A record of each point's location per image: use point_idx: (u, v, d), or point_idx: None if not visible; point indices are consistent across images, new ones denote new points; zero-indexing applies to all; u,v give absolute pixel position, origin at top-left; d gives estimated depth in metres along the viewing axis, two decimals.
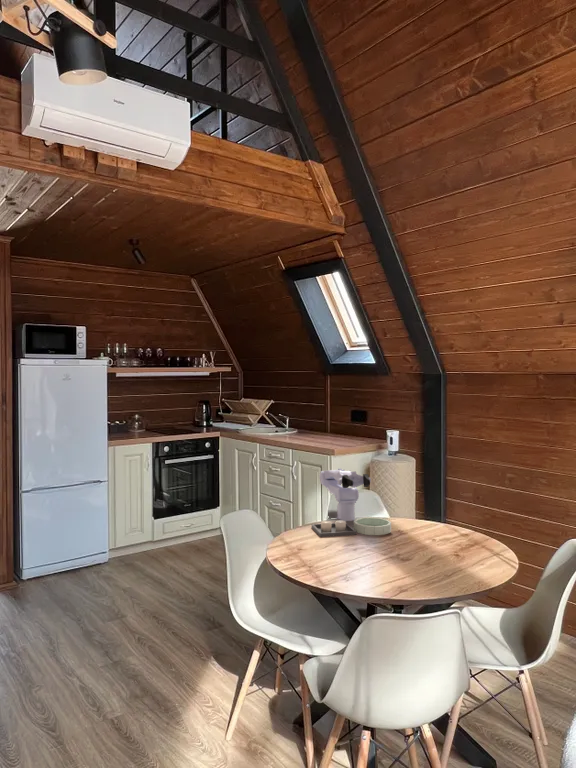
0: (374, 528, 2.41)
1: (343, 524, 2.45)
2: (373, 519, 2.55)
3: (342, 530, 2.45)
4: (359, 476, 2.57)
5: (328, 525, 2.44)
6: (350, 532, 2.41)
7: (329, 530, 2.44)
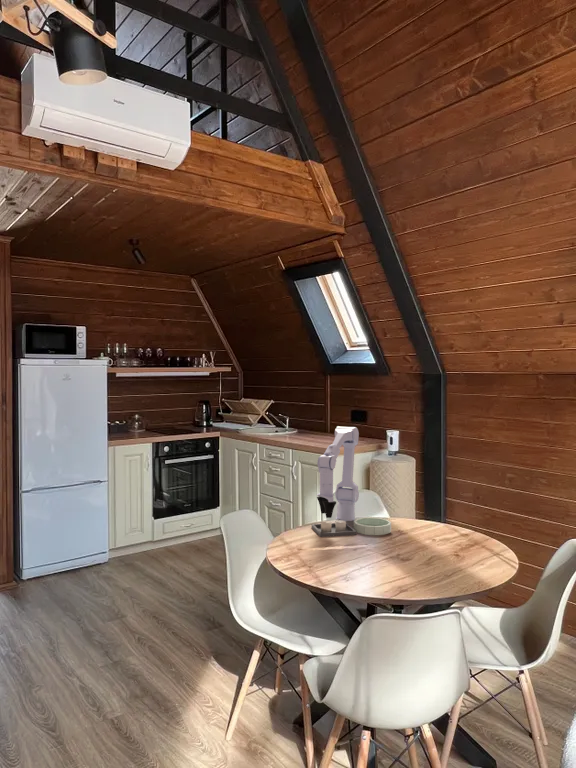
0: (374, 528, 2.41)
1: (343, 524, 2.45)
2: (373, 519, 2.55)
3: (342, 530, 2.45)
4: None
5: (328, 525, 2.44)
6: (350, 532, 2.41)
7: (329, 530, 2.44)
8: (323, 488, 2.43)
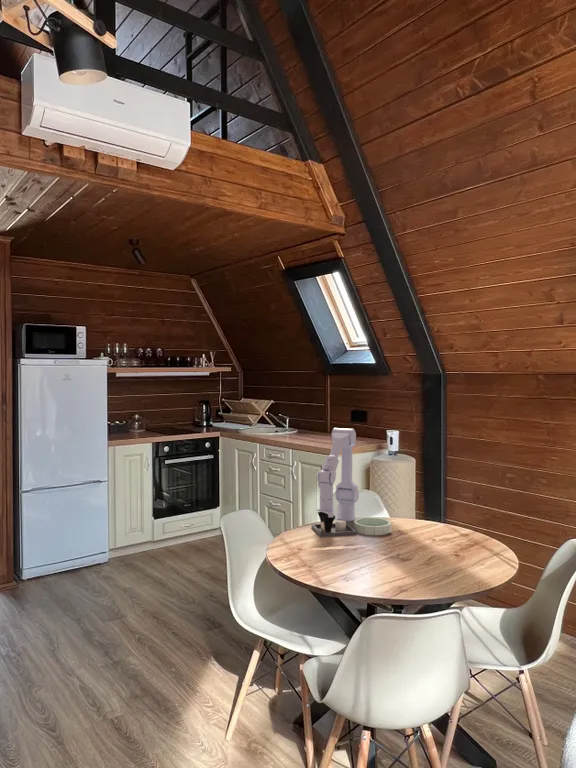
0: (374, 528, 2.41)
1: (343, 524, 2.45)
2: (373, 519, 2.55)
3: (342, 530, 2.45)
4: None
5: None
6: (350, 532, 2.41)
7: None
8: (323, 503, 2.43)
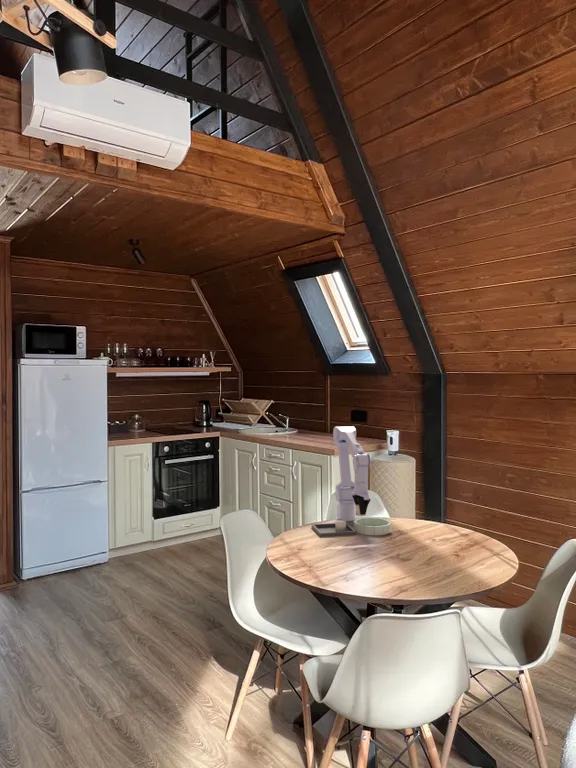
0: (374, 528, 2.41)
1: (343, 524, 2.45)
2: (373, 519, 2.55)
3: (342, 530, 2.45)
4: None
5: None
6: (350, 532, 2.41)
7: None
8: (358, 486, 2.45)
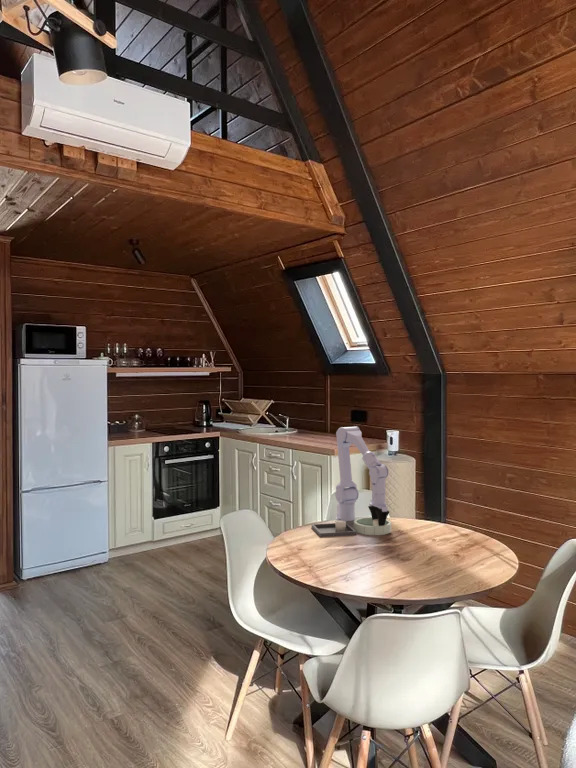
0: (374, 528, 2.41)
1: (343, 524, 2.45)
2: None
3: (342, 530, 2.45)
4: None
5: None
6: (350, 532, 2.41)
7: None
8: (376, 497, 2.46)
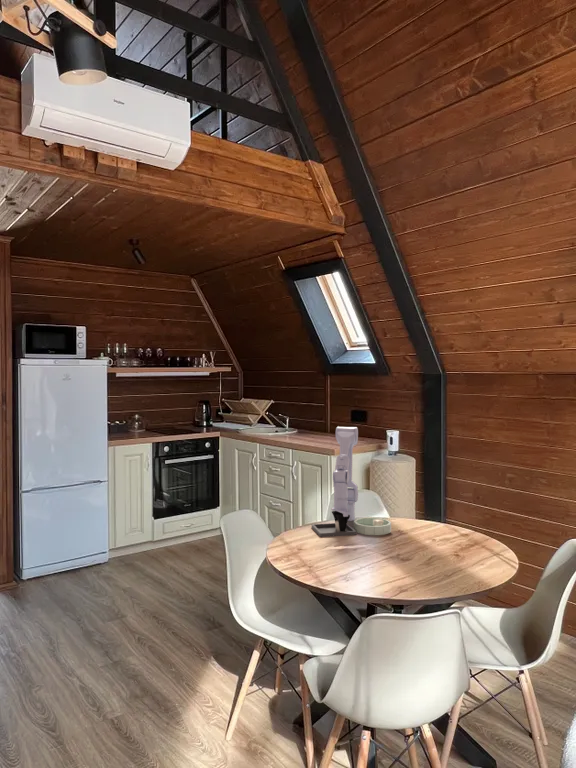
0: (374, 528, 2.41)
1: None
2: (373, 519, 2.55)
3: None
4: None
5: (380, 523, 2.47)
6: (350, 532, 2.41)
7: None
8: (337, 502, 2.44)
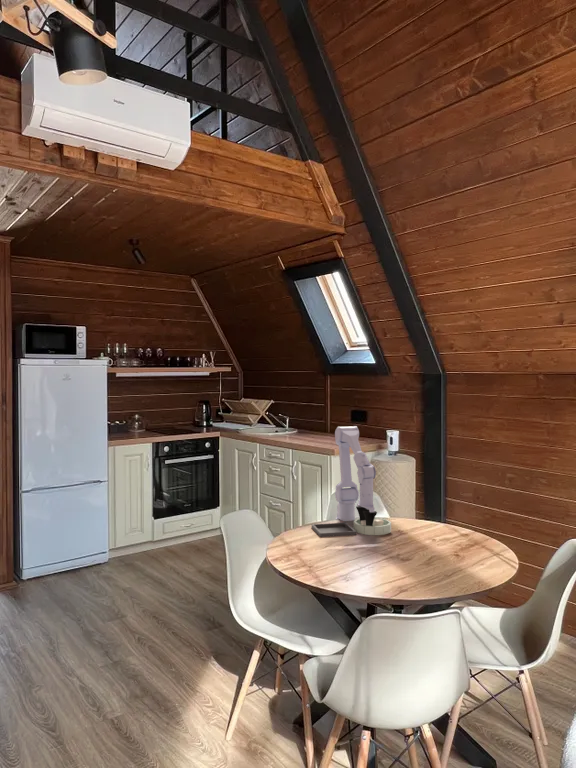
0: (374, 528, 2.41)
1: None
2: None
3: None
4: None
5: (380, 523, 2.47)
6: (350, 532, 2.41)
7: None
8: (363, 498, 2.45)
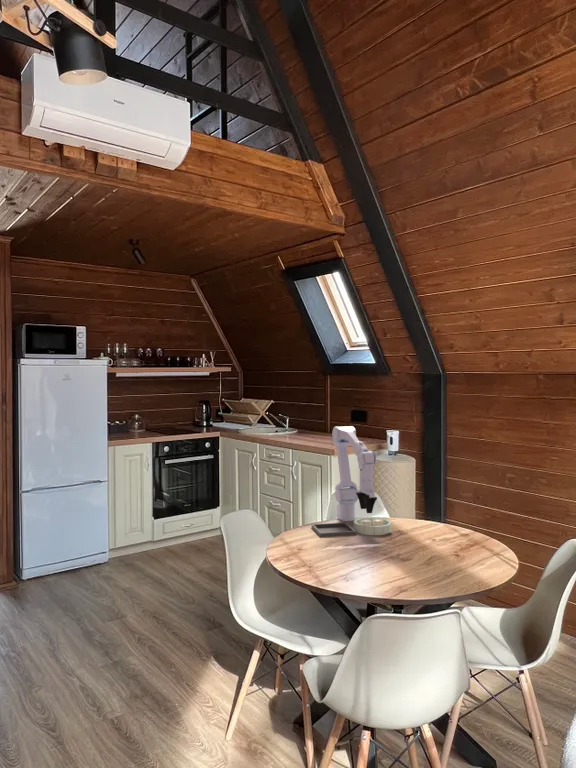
0: (374, 528, 2.41)
1: (369, 524, 2.46)
2: (373, 519, 2.55)
3: None
4: None
5: (380, 523, 2.47)
6: (350, 532, 2.41)
7: None
8: (363, 483, 2.45)
